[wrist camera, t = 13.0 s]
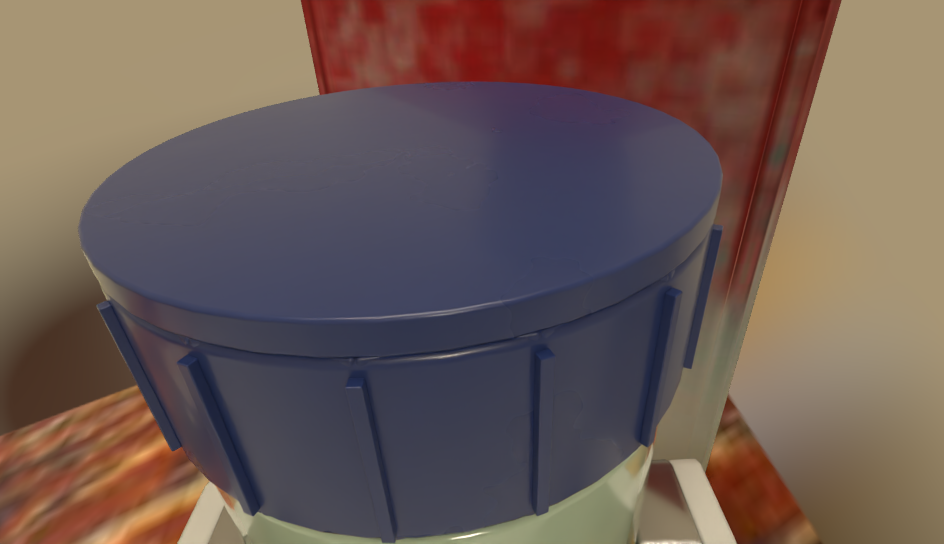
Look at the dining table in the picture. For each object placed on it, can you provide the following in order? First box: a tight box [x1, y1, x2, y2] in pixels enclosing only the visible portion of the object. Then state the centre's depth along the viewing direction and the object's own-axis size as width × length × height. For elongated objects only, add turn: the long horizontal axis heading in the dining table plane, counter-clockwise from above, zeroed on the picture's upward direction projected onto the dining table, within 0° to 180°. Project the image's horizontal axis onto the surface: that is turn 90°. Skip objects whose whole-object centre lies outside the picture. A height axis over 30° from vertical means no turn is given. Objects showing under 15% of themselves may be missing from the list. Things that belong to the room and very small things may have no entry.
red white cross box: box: [301, 0, 841, 472], centre depth 20 cm, size 14×10×30 cm
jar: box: [215, 423, 659, 544], centre depth 9 cm, size 6×6×12 cm
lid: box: [78, 82, 723, 543], centre depth 6 cm, size 6×6×2 cm
